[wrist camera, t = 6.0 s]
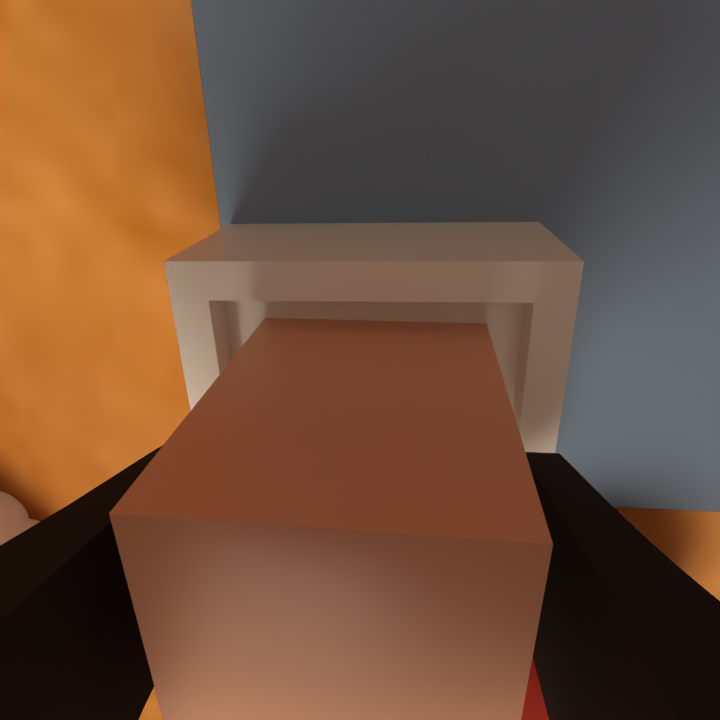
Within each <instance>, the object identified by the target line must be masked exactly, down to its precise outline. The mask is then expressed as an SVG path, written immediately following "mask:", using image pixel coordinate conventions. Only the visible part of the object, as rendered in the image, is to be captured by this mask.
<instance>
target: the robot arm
mask: <svg viewBox="0 0 720 720" xmlns="http://www.w3.org/2000/svg"><path fill="white" fill-rule="evenodd" d="M161 448H162V446H161V447H159V448H157V449H156V450H154V451H153V452H151V453H149V454H148V455H146V456H144V457H143V458H141V459H140V460H138V461H137V462H135V463H133V464H132V465H130V466H129V467H127V468H126V469H124V470H123V471H121V472H120V473H118V474H116V475H115V476H113V477H112V478H110V479H109V480H107V481H105V482H104V483H102V484H101V485H99V486H98V487H96V488H94V489H93V490H91V491H90V492H88V493H87V494H85V495H84V496H82V497H80V498H79V499H77V500H76V501H74V502H72V503H71V504H69V505H68V506H66V507H64V508H63V509H61V510H59V511H58V512H56V513H54V514H52V515H51V516H49V517H47V518H46V519H44V520H42V521H41V522H39V523H37V524H36V525H34V526H32V527H31V528H29V529H27V530H25V531H24V532H22V533H20V534H19V535H17V536H15V537H14V538H12V539H10V540H9V541H7V542H5V543H3V544H2V545H0V720H138V719H139V717H140V715H141V713H142V710H143V708H144V706H145V704H146V702H147V700H148V698H149V696H150V694H151V691H152V689H153V687H154V683H153V679H152V675H151V671H150V667H149V664H148V660H147V656H146V652H145V648H144V645H143V641H142V637H141V633H140V629H139V626H138V622H137V618H136V614H135V610H134V607H133V603H132V599H131V595H130V591H129V588H128V584H127V580H126V576H125V572H124V569H123V565H122V561H121V557H120V553H119V550H118V546H117V542H116V538H115V534H114V531H113V527H112V523H111V519H110V515H109V513H110V512H111V510H112V509H113V508H114V507H115V505H116V504H117V503H118V502H119V500H120V499H121V498H122V497H123V495H124V494H125V493H126V492H127V490H128V489H129V488H130V487H131V485H132V484H133V483H134V482H135V480H136V479H137V478H138V476H139V475H140V474H141V473H142V471H143V470H144V469H145V468H146V466H147V465H148V464H149V463H150V461H151V460H152V459H153V458H154V456H155V455H156V454H157V453H158V451H159V450H160V449H161ZM525 453H526V456H527V459H528V463H529V466H530V469H531V473H532V476H533V479H534V483H535V486H536V489H537V493H538V496H539V499H540V503H541V506H542V509H543V513H544V516H545V519H546V523H547V526H548V529H549V532H550V536H551V539H552V542H553V548H552V553H551V559H550V564H549V570H548V575H547V581H546V586H545V592H544V597H543V603H542V608H541V613H540V619H539V624H538V630H537V635H536V641H535V646H534V652H533V660H534V664H535V668H536V672H537V675H538V679H539V683H540V687H541V691H542V694H543V698H544V702H545V706H546V710H547V714H548V717H549V720H720V601H719V600H718V599H716V598H715V597H714V596H713V595H711V594H710V593H709V592H708V591H706V590H705V589H704V588H703V587H702V586H701V585H699V584H698V583H697V582H696V581H695V580H693V579H692V578H691V577H690V576H689V575H688V574H686V573H685V572H684V571H683V570H682V569H680V568H679V567H678V566H677V565H676V564H675V563H673V562H672V561H671V560H670V559H669V558H668V557H666V556H665V555H664V554H663V553H662V552H661V551H660V550H659V549H658V548H656V547H655V546H654V545H653V544H652V543H651V542H650V541H649V540H648V539H646V538H645V537H644V536H643V535H642V534H641V533H640V532H639V531H638V530H637V529H636V528H635V527H634V526H632V525H631V524H630V523H629V522H628V521H627V520H626V519H625V518H624V517H623V516H622V515H621V514H620V513H619V512H618V511H617V510H616V509H615V508H614V507H613V506H612V505H611V504H610V503H609V502H608V501H607V500H606V499H605V498H604V497H603V496H601V495H600V494H599V493H598V492H597V491H596V490H595V489H594V488H593V487H592V486H591V485H590V484H589V483H588V482H587V480H586V479H585V478H584V477H583V476H582V475H581V474H580V473H579V472H578V471H577V470H576V469H575V468H574V467H573V466H572V465H571V464H570V463H569V462H568V461H567V460H566V459H565V458H564V457H563V456H562V455H561V454H559V453H538V452H525Z"/></svg>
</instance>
